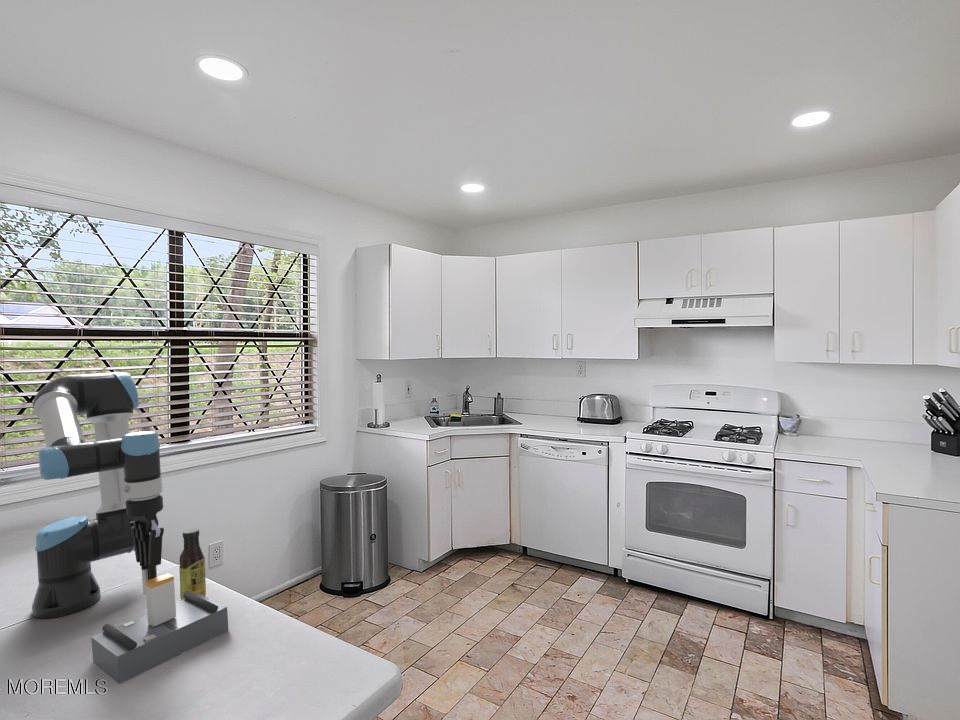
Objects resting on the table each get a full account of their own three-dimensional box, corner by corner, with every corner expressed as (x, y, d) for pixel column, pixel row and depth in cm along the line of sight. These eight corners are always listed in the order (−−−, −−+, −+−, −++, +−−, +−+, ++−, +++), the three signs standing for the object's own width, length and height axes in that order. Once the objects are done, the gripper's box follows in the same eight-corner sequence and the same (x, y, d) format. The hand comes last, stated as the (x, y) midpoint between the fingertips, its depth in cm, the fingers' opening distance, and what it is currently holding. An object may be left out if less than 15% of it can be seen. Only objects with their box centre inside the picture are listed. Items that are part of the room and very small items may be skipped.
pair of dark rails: (102, 632, 122) (102, 625, 122) (189, 596, 138) (189, 590, 138) (128, 651, 114) (128, 643, 114) (218, 610, 130) (218, 604, 129)
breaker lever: (147, 623, 124) (145, 581, 124) (170, 613, 128) (167, 573, 128) (153, 626, 123) (150, 584, 122) (176, 616, 127) (173, 575, 126)
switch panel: (93, 662, 120) (91, 636, 120) (199, 615, 140) (198, 592, 139) (119, 684, 112) (117, 655, 112) (228, 630, 132) (227, 606, 131)
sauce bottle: (195, 608, 144) (190, 536, 143) (175, 606, 145) (170, 535, 144) (212, 596, 150) (208, 527, 149) (193, 595, 151) (188, 526, 150)
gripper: (115, 496, 128) (121, 592, 129) (138, 504, 121) (145, 606, 121) (148, 489, 134) (155, 580, 135) (173, 496, 127) (179, 592, 128)
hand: (150, 592), depth 128 cm, fingers closed
